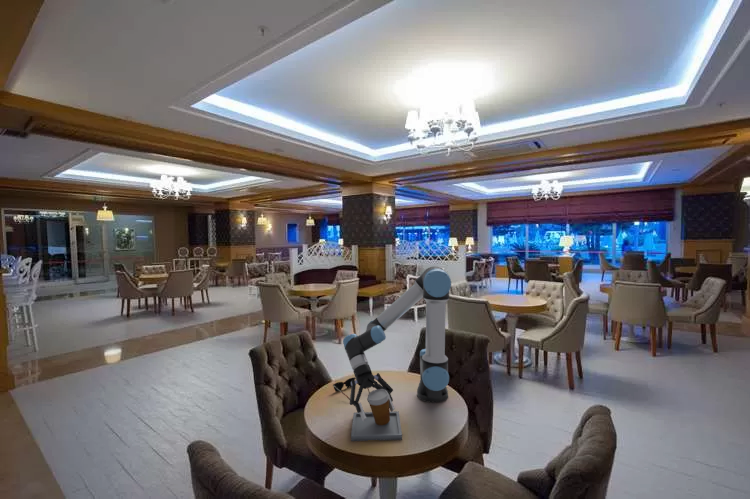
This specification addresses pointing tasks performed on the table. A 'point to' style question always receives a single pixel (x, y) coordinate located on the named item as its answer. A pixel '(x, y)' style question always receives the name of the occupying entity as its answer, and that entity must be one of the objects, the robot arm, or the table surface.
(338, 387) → the sunglasses
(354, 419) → the serving tray
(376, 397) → the disposable coffee cup
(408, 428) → the table surface
